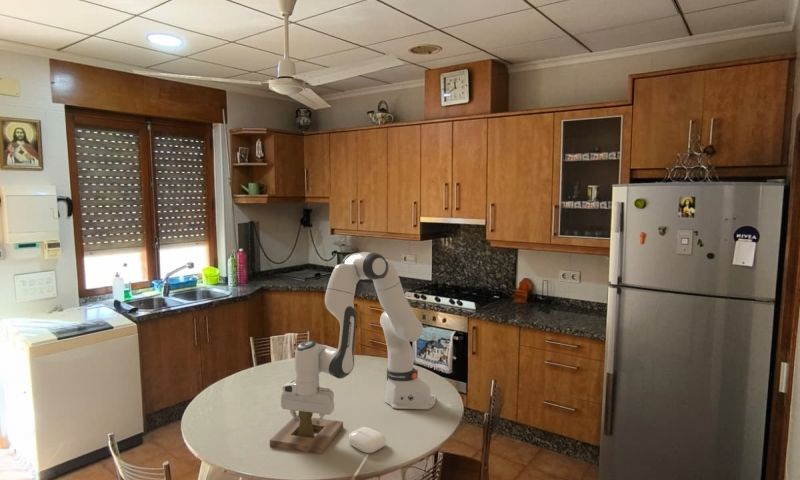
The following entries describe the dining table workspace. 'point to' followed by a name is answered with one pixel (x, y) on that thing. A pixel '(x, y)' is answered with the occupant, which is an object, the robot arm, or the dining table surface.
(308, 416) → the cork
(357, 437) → the earbud case
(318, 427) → the walnut dock
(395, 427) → the dining table surface
